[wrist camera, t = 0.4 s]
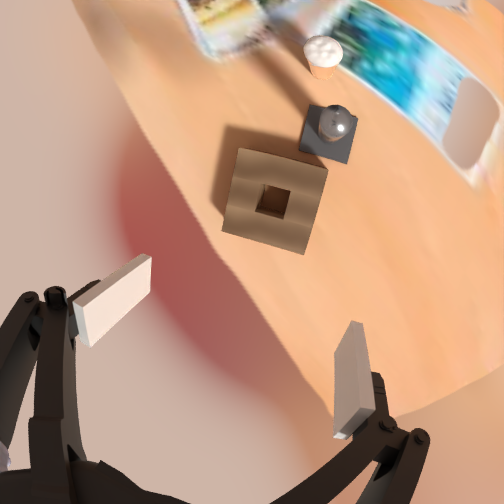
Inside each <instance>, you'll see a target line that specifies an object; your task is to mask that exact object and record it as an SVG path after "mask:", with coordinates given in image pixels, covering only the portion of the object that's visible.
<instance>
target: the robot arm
mask: <svg viewBox="0 0 504 504" xmlns="http://www.w3.org/2000/svg"><path fill="white" fill-rule="evenodd" d="M151 258H152V257H150V256H148V255H145V254H141V255H139V256H138V257H136V258H135V259H133V260H132V261H130V262H128V263H127V264H126V265H124V266H122V267H121V268H120V269H118V270H117V271H115V272H114V273H112V274H111V275H109V276H108V277H106V278H105V279H104V280H102V281H101V280H96V281H92V282H90V283H89V284H87V285H86V286H85V287H83V288H81V289H80V290H78V291H77V292H76V293H74V294H73V295H71V296H70V297H68V298H66V291H65V289H64V288H62V287H59V286H53V287H50V288H48V289H46V290H45V292H44V297H45V302H42V301H39V296H38V294H37V293H36V292H33V291H29V292H25V293H23V294H22V295H21V296H20V297H19V299H18V300H17V302H16V304H15V305H14V306H13V308H12V310H11V311H10V313H9V314H8V316H7V317H6V319H5V321H4V322H3V324H2V325H1V327H0V504H190V503H187V502H184V501H182V500H179V499H177V498H174V497H172V496H167V495H162V494H158V493H153V492H149V491H145V490H143V489H141V488H140V487H138V486H137V485H136V484H135V483H134V482H132V481H131V480H130V479H129V478H128V477H126V476H125V475H124V474H123V473H122V472H120V471H118V470H116V469H115V468H113V467H111V466H110V465H108V464H106V463H105V462H103V461H101V460H100V462H99V463H96V462H91V461H87V459H86V455H85V452H84V450H83V447H82V442H81V435H80V427H79V419H78V408H77V394H76V367H75V352H76V347H75V346H76V341H75V337H76V336H77V335H78V334H79V337H80V341H81V342H82V343H84V344H85V345H87V346H89V347H92V345H94V344H95V343H96V342H97V341H98V340H99V339H100V338H101V337H102V336H103V335H104V334H105V333H106V332H107V331H108V330H109V329H110V328H111V327H112V326H113V325H115V324H116V323H117V322H118V321H119V320H120V319H121V318H122V317H123V316H124V315H125V314H126V313H127V312H129V311H130V310H131V309H132V308H133V307H134V306H135V305H136V304H137V303H138V302H139V301H140V300H141V299H143V298H144V297H145V296H146V295H147V294H148V293H149V292H150V277H151ZM334 358H335V393H334V426H333V438H340V439H346V440H347V439H348V438H349V437H350V436H351V435H352V434H353V441H352V442H351V443H349V444H348V445H347V446H346V447H345V448H344V449H343V450H342V451H340V452H339V453H338V454H337V455H336V456H335V457H334V458H332V459H331V460H330V461H329V462H328V463H326V464H325V465H324V466H323V467H321V468H320V469H319V470H318V471H316V472H315V473H314V474H313V475H311V476H310V477H308V478H307V479H306V480H304V481H303V482H302V483H300V484H299V485H297V486H296V487H294V488H293V489H292V490H290V491H289V492H287V493H286V494H284V495H283V496H281V497H279V498H278V499H276V500H275V501H273V502H271V503H270V504H327V503H329V502H330V501H331V500H332V499H333V498H334V497H336V496H337V495H338V494H339V493H340V492H341V491H342V490H343V489H344V488H346V487H347V486H348V485H349V484H350V483H351V482H352V481H353V480H354V479H355V478H356V477H357V476H358V475H359V474H360V473H361V472H362V471H363V470H364V469H365V468H366V467H367V465H368V464H369V463H370V462H371V461H372V460H373V461H376V462H378V465H377V467H376V469H375V471H374V473H373V474H372V477H371V478H370V480H369V482H368V484H367V485H366V488H365V489H364V491H363V492H362V494H361V496H360V498H359V499H358V501H357V503H356V504H409V503H410V501H411V498H412V496H413V493H414V491H415V488H416V486H417V483H418V480H419V477H420V474H421V472H422V469H423V465H424V462H425V459H426V456H427V452H428V449H429V445H430V437H429V435H428V433H427V432H426V431H425V430H423V429H421V428H415V429H414V430H412V431H411V432H407V431H405V430H402V429H400V428H398V427H397V424H396V421H395V420H394V419H393V418H392V417H391V416H389V411H388V404H387V397H386V391H385V385H384V380H383V378H382V377H381V375H380V373H376V372H371V369H370V362H369V356H368V350H367V344H366V339H365V333H364V328H363V323H359V322H355V321H351V323H350V325H349V327H348V328H347V330H346V332H345V334H344V336H343V338H342V340H341V342H340V344H339V345H338V347H337V349H336V351H335V353H334ZM36 361H37V366H36V377H35V392H34V416H33V417H32V418H30V419H29V423H28V431H29V432H28V434H29V453H30V463H31V464H30V465H31V468H30V469H21V470H11V471H8V470H7V467H8V466H10V464H11V460H10V458H9V453H8V448H9V445H10V443H11V440H12V437H13V433H14V430H15V426H16V422H17V418H18V414H19V411H20V407H21V404H22V401H23V398H24V394H25V391H26V388H27V385H28V382H29V379H30V377H31V374H32V371H33V369H34V366H35V363H36Z"/></svg>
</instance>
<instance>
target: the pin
mask: <svg viewBox="0 0 504 504" xmlns="http://www.w3.org/2000/svg"><path fill="white" fill-rule="evenodd" d="M352 126H353V118H352V115H351V114H350V112H349V111H348V110H347V109H346V108H344V107H342V106H340V105H331V106H328V107H326V108H325V109H324V110H323V111H322V113H321V116H320V123H319V130H318V135H319V138H320V140H321V141H322V142H324V143H326V144H333V143H335V142H336V141H338V140H339V139H340V138H342V137H343V136H345V135H346V134H347V133H348V132H349V131H350V130H351V128H352Z"/></svg>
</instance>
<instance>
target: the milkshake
mask: <svg viewBox="0 0 504 504" xmlns="http://www.w3.org/2000/svg"><path fill="white" fill-rule="evenodd" d="M304 54H305V57H306V59H307V61H308V63H309V66H310V69H311V72H312V75H314V76H315V77H316V78H317V79H321V80H326V79H329V78H331V76H332V74H333V73H334V71H335V69H336V67H337V65H338V64H339V62H340V61H341V59H342V56H343V50H342V47H341V46H340V44H339V43H338V42H337V41H336V40H335V39H333V38H330V37H328V36H313V37H311V38H310V39H308V40H307V42H306V43H305V45H304Z"/></svg>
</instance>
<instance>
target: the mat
mask: <svg viewBox="0 0 504 504" xmlns="http://www.w3.org/2000/svg"><path fill="white" fill-rule="evenodd" d="M324 109H325V108H322V107H318V106H314V105H310V106H309V110H308V115H307V119H306V123H305V127H304V131H303V135H302V139H301V144H300V148H299V150H300V151H303V152H307V153H311V154H314V155H318V156H321V157H325V158H328V159H332V160H335V161H338V162H341V163H345V164H347V162H348V158H349V154H350V150H351V146H352V142H353V138H354V134H355V130H356V126H357V121H358V118H356V117H353V116H352V118H353V126H352V128H351V130H350V131H349V132H348V133H347V134H346V135H345V136H343V137H342V138H340V139H339V140H338V141H336V142H335V143H333V144H326V143H324V142H322V141H321V140H320V138H319V135H318V130H319V123H320V116H321V113H322V111H323V110H324Z"/></svg>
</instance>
